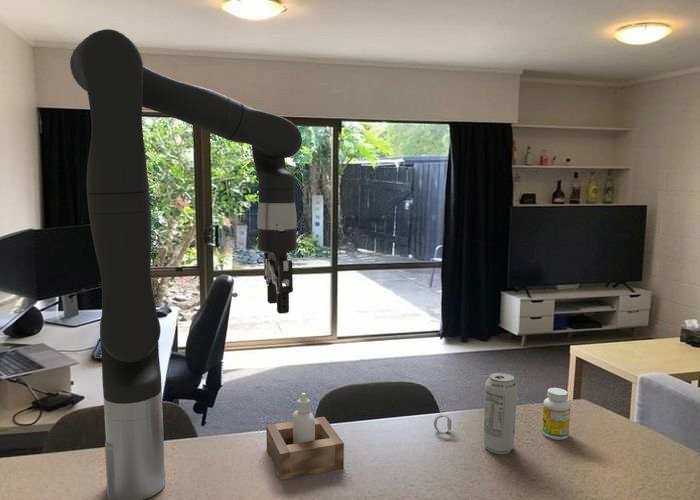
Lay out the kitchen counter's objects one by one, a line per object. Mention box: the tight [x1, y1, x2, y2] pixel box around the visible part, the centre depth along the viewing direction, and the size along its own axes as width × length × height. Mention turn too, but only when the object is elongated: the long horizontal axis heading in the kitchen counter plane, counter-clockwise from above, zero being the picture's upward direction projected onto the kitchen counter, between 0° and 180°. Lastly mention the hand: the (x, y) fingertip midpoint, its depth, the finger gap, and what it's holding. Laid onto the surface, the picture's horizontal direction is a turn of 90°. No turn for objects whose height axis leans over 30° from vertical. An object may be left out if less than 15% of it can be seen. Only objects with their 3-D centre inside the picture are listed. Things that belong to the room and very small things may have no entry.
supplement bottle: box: [541, 387, 572, 441], centre depth 117 cm, size 5×5×10 cm
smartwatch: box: [433, 413, 452, 434], centre depth 118 cm, size 4×2×4 cm, turn 87°
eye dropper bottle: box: [292, 392, 315, 444], centre depth 106 cm, size 4×6×12 cm
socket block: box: [265, 416, 345, 481], centre depth 107 cm, size 12×12×5 cm
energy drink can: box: [482, 371, 518, 455], centre depth 111 cm, size 6×6×15 cm
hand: (277, 307), depth 110 cm, fingers open, 8 cm apart
